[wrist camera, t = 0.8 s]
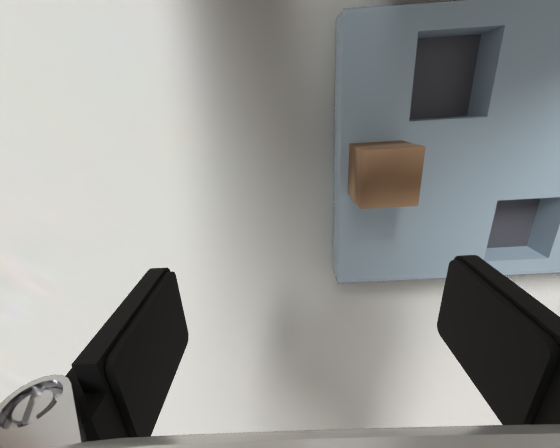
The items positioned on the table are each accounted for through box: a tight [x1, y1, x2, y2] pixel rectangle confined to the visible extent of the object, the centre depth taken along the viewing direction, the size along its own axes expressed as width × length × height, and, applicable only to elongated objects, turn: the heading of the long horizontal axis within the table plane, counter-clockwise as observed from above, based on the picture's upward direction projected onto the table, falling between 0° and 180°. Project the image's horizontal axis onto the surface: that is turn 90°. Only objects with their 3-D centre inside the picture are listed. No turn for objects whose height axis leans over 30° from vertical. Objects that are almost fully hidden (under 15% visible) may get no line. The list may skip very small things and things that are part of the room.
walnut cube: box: [348, 140, 426, 209], centre depth 24 cm, size 4×4×4 cm
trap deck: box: [333, 0, 560, 283], centre depth 26 cm, size 24×28×6 cm
